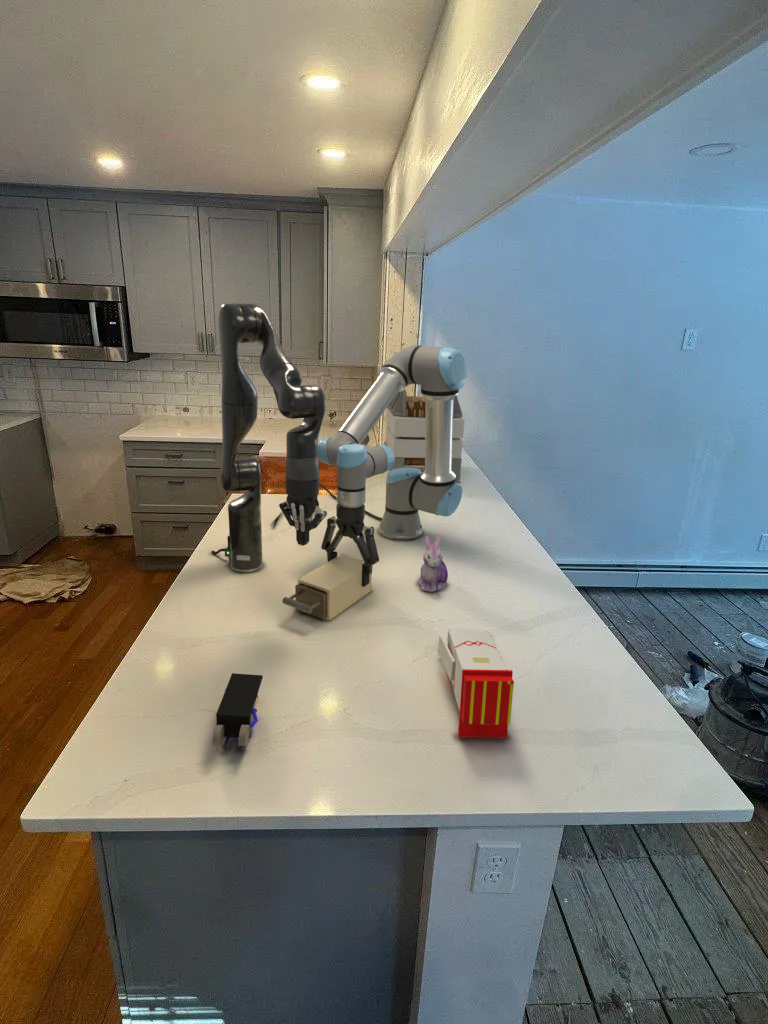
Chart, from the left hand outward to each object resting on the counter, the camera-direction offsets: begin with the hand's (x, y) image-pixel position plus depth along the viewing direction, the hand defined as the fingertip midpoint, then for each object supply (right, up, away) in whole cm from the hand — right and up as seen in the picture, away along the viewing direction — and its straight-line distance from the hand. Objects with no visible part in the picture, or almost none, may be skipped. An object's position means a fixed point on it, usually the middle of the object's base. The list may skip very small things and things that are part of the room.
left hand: (302, 544), depth 135 cm
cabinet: (+6, -16, +18) cm, 25 cm away
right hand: (+10, -11, +22) cm, 26 cm away
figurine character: (-7, -33, -30) cm, 45 cm away
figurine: (+33, -14, +28) cm, 46 cm away
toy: (+37, -30, -17) cm, 51 cm away
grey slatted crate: (+37, +26, +140) cm, 147 cm away
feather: (-19, +6, +77) cm, 79 cm away
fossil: (+5, +40, +172) cm, 177 cm away
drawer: (+4, -17, +14) cm, 22 cm away
